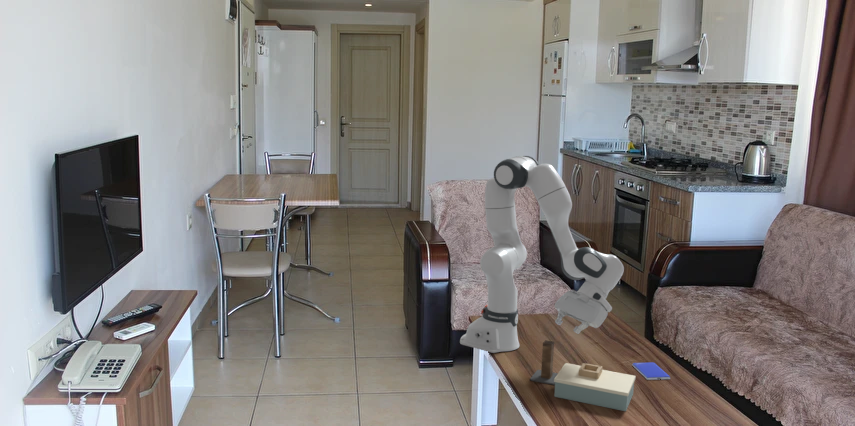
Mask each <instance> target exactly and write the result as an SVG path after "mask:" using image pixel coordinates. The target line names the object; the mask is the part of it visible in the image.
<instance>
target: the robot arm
mask: <svg viewBox="0 0 855 426" xmlns="http://www.w3.org/2000/svg"><path fill="white" fill-rule="evenodd" d="M525 187H527V188H529V189H530V190H531V192H532V193H533V195H534V197H535V199H536V201H537V203H538V206H539V207H540V209H541V211H542V214H543V215H544V217H545V219H546V222H547V224H548V226H549V230H550V232H551V235H552V238H553V240H554V242H555V245H556V247H557V250H558V252H559V255H560V268H561V271H562V272H563V274H564V276H565V277H567V278H568V279H570V280H573V281H579V280H582V279H585V281H584V283H583V284H582V285H581V286H580V287H579V288H578V290H575V289H570V290H567V291H566V292H565V293H563V294H562V295H561V296H560V297H559V298H558V299H557V300H556V301H555V303H554V308H555V309H556V311H557V312H558V313H557V318H556V319H555V320H554V323H555V324H557V326H562V324H563V322H564V321H563V318H564V317H566V316H568V317H570V318H572V319H574V320H577V321H578V322H581V323H580V325H578V326H577V325H576V326H574V328H573V332H574V333H576V334H578V335H579V334H580V333H581V332H582V331H583V330H585V329H587V328H589V327H592V328H594V329H597V328H599V327H601V326H602V325H603V323H604V321H605V320H606V319H607V317H608V313H610V312H611V311H612V310H613V306H612V305H611V304H610V303H609V302H608V300H607V298H608V296H609V293H610V292H611V291H612V290H613V289H614V288H615V287H616V286H617V284H618V283H619V281H620V279H621V278H622V276H623V275H624V270H625V267H624V264H623V262H622V261H621V260H620V258H619V257H617V255H614V254H610V253H609V254H608V253H607V254H606V253H603V252H600V251H597V250H595V249H594V248H592V247H589V246H584V247H577V244H576V241H575V240H574V237H573V234H572V232H571V230H570V226H569V218H570V216H571V215H570V214H571V211H572V207H573V202H572V201H573V200H572V198H571V195H570V192H569V191H568V188H567V186H566V184H565V182H564V181H563V178H562V177H561V175H560V174H559V173H558V171H557V170H556V168H555V167H554V166H553V165H552V164H550V163H539V161H538V160H537V159H536V158H534V157H532V156H529V155H523V156H520V155H519V156H514V157H511V158H506V159H504V160H501V161H500V162H499V163H498V164H496V166H495V167H494V170H493V177H491V178H490V179H488V180H487V181H486V183H485V190H484V210H485V222H486V223H485V224H486V229H487V231H488V232H489V234H490V235H491V238H492V241H493V245H494V246H492V247H490V248H489V249H487V250H486V251H485V252H484V253H483V254H482V256H481V258H480V261H479V265H480V270H481V271H482V272H483V274H484V275H485V279H486V285H487V301H486V302H487V304H486V305H484V307H483V308H482V310H481V312H480V314H481V316H480V317H478V318H476V319H475V320H474V321H472V322H471V323H470V324H469V325H468V326H467V330H466V333H465V334H463V335H462V336H461V337H460V339H459V343H460V345H462V346H466V347H470V348H474V349H477V350H481V351H485V352H489V353H492V354H496V353H499V352H501V353H502V352H511V351H514V350H517V349H519V348H520V346H521V345H520V342H519V337H518V326H517V325H518V322H519V310H518V292H519V291H518V288H517V286H516V284H515V280H514V272H515V271H516V270H518V269H519V268H520V267H521V266H523V264H524V263H525V262H526V260H527V257H528V252H527V251H528V250H527V249H526V248H527V247H526V246H525V244H523V243H522V239H521V236H520V233H519V228H518V222H517V213H516V201H515V196H516V195H515V194H516V191H517V190H518V189H521V188H525Z"/></svg>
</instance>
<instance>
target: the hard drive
mask: <svg viewBox="0 0 855 426" xmlns="http://www.w3.org/2000/svg"><path fill="white" fill-rule="evenodd" d="M631 365H632V366H633V367H634V369H636V371H638V372H639V374H640V375H642V376H643V377H644V378H645V380H647V381H653V380H657V381H658V380H660V379H661V380H671V375H669V374H668V373H667V372H665V371H664V370H663V369H662V368H661V367H660V366H659V365H657V363H655V362H652V361H651V362H650V361H649V362H633V363H632V364H631ZM661 380H660V381H661Z"/></svg>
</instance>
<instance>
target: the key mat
mask: <svg viewBox="0 0 855 426" xmlns="http://www.w3.org/2000/svg"><path fill="white" fill-rule="evenodd" d="M558 373H559V372H558ZM558 373H557V372H552V377H551V378H550V379H547V378H542V377H541V369H536V371H535V372H534V373H533V374H532V376H531V377H530V378H529V381H532V382H536V383H542V384H546V385H552V386H555V382H554V378H555V377H556V376H557V374H558Z"/></svg>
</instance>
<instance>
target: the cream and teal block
mask: <svg viewBox="0 0 855 426" xmlns="http://www.w3.org/2000/svg"><path fill="white" fill-rule="evenodd" d="M636 379H637V377H636V375H635V374H634V375H633V374H627V373H622V372H619V371H618V372H615V371H611V370H607V369H603V365H596V364H591V363H587V362H582V364H581V365H578V364H574V363H568V362H565V363H564V364H563V366H562V368H561V369H560V370H559V371H558V374H557V376H556V377H555V378H554V382H555V385H554V397H555V398H559V399H564V400H569V401H574V402H579V403H584V404H589V405H593V406H598V407H602V408H603V407H604V408H608V409H613V410H618V411H621V412H622V411H623V412H627V410H628V407H629V405H630V403H631V400H632V398H633V395H634V391H635V390H634V389H635V381H636Z"/></svg>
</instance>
